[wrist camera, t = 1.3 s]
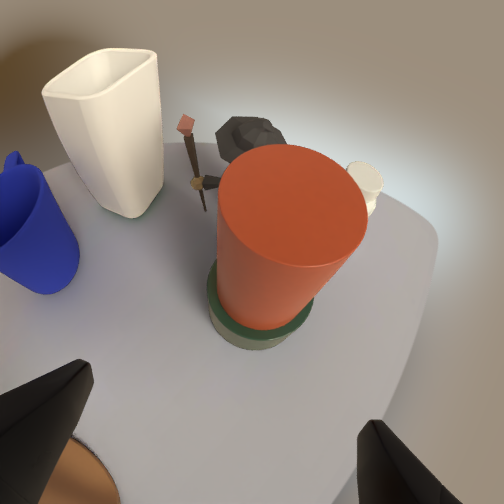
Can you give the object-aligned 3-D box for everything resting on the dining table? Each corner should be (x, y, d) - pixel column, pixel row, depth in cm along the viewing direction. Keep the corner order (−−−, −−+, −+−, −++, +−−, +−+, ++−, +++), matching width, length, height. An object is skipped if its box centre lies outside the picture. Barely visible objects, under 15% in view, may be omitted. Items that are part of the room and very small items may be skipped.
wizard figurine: (248, 176, 30) (263, 79, 20) (283, 212, 29) (315, 114, 18) (181, 213, 27) (168, 110, 17) (214, 255, 26) (214, 155, 15)
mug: (76, 191, 27) (43, 124, 19) (99, 284, 23) (47, 223, 14) (19, 222, 25) (-24, 165, 16) (31, 318, 21) (-37, 274, 12)
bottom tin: (308, 339, 23) (327, 326, 19) (218, 358, 22) (217, 350, 18) (285, 258, 26) (297, 232, 22) (201, 271, 25) (199, 246, 21)
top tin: (315, 319, 19) (390, 253, 11) (226, 338, 18) (234, 281, 9) (292, 241, 22) (335, 142, 13) (210, 253, 21) (208, 148, 12)
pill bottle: (307, 213, 29) (331, 160, 22) (341, 204, 30) (369, 154, 23) (328, 250, 27) (360, 201, 21) (362, 237, 29) (398, 191, 22)
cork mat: (137, 541, 13) (135, 543, 12) (38, 523, 10) (35, 525, 10) (102, 432, 17) (99, 433, 17) (8, 424, 15) (4, 424, 15)
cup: (178, 180, 29) (166, 50, 16) (141, 234, 26) (96, 100, 13) (125, 162, 30) (97, 47, 17) (87, 210, 26) (32, 93, 13)
